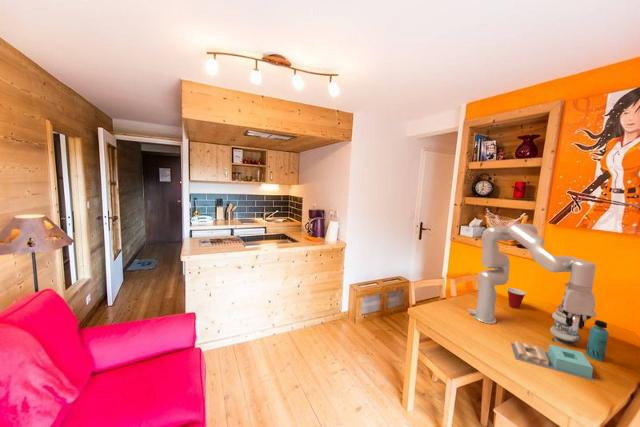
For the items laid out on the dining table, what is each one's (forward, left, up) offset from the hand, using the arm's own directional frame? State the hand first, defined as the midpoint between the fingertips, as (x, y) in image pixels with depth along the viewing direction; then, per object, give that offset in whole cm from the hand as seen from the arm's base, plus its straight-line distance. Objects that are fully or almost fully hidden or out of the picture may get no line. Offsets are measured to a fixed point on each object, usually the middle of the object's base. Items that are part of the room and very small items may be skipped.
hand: (574, 326), depth 119 cm
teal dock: (0, 0, -20) cm, 20 cm away
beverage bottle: (+14, +15, -21) cm, 30 cm away
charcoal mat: (-7, 0, -21) cm, 22 cm away
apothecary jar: (+5, +25, -21) cm, 33 cm away
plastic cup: (-11, +64, -21) cm, 68 cm away
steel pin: (0, 0, -3) cm, 3 cm away
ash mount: (-14, 0, -20) cm, 24 cm away
